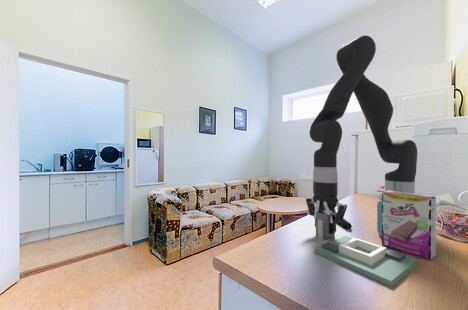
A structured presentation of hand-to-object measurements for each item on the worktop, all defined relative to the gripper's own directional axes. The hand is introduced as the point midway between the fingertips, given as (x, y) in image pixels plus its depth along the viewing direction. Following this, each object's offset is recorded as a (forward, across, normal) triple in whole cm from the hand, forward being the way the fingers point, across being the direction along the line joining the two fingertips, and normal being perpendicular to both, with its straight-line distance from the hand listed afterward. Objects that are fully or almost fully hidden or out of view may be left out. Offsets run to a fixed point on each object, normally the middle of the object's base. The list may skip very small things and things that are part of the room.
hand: (325, 231), depth 68 cm
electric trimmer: (+2, +5, -18) cm, 19 cm away
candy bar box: (+2, -19, -10) cm, 22 cm away
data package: (+2, -15, -18) cm, 24 cm away
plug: (+2, 0, 0) cm, 2 cm away
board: (+2, -14, +5) cm, 15 cm away
